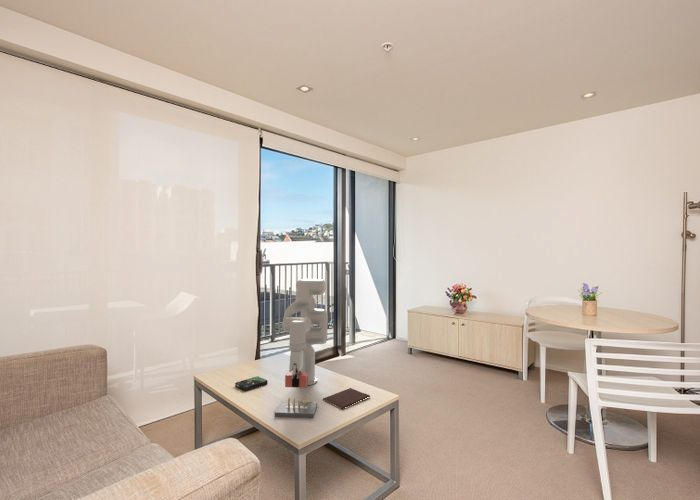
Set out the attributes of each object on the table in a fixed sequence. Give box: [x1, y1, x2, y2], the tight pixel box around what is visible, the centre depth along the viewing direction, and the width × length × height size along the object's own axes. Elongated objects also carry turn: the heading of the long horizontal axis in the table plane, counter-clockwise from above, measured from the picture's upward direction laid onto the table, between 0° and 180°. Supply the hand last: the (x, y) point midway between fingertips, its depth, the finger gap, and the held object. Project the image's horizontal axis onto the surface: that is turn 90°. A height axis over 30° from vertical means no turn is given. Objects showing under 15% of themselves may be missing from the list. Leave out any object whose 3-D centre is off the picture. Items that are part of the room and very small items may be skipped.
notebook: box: [322, 387, 371, 410], centre depth 182 cm, size 15×20×2 cm
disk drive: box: [234, 376, 268, 392], centre depth 199 cm, size 10×3×15 cm
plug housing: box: [284, 371, 309, 389], centre depth 167 cm, size 5×10×6 cm, turn 87°
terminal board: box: [274, 397, 318, 419], centre depth 167 cm, size 12×18×6 cm, turn 87°
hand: (296, 384), depth 167 cm, fingers closed on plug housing, 5 cm apart
